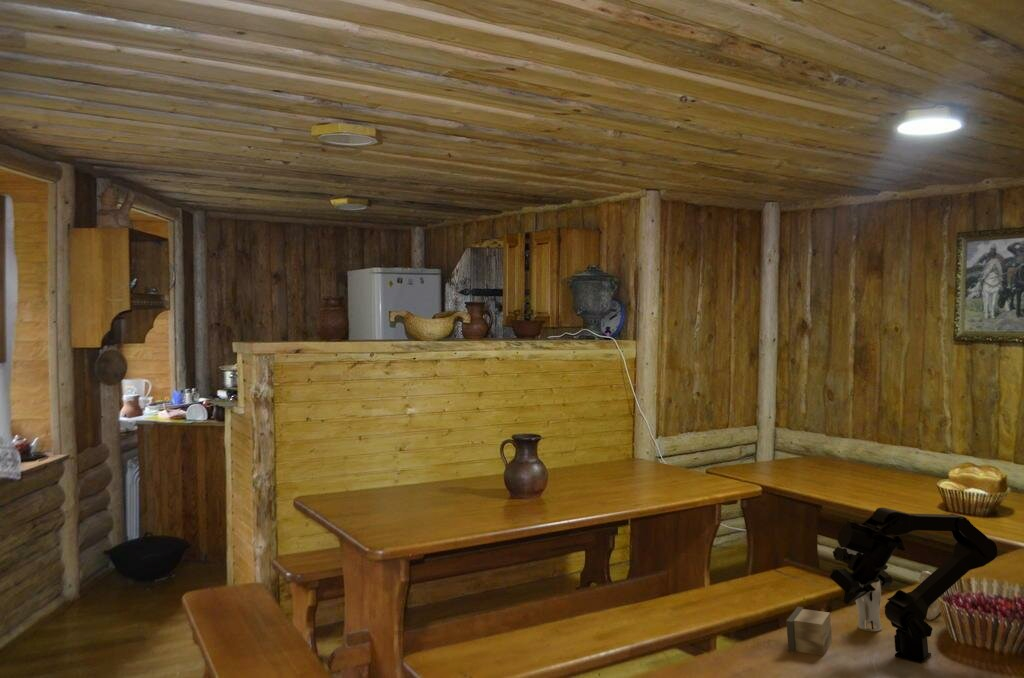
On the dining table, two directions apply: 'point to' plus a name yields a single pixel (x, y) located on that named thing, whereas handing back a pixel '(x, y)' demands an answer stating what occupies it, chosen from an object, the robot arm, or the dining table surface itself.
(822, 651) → the maple block
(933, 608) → the sitting furry creature
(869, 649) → the dining table surface
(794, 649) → the backstop board
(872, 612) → the beer glass
